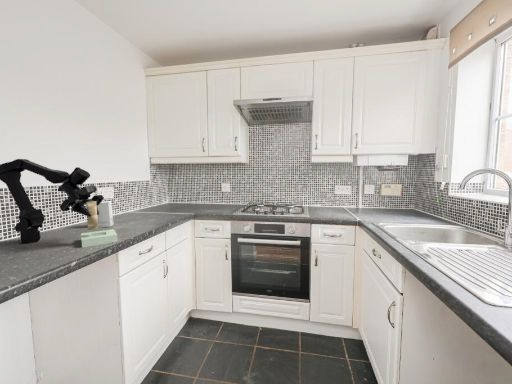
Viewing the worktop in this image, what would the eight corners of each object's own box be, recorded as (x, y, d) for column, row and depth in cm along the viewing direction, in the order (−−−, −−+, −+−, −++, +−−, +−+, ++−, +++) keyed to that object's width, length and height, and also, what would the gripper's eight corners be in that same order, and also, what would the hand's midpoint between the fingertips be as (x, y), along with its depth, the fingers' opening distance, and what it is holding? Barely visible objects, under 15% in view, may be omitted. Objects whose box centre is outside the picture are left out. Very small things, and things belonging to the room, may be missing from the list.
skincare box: (113, 224, 150) (112, 200, 149) (110, 227, 144) (108, 202, 143) (98, 225, 148) (97, 201, 147) (94, 228, 142) (93, 202, 140)
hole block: (82, 247, 106) (81, 239, 105) (81, 240, 117) (81, 233, 116) (117, 241, 114) (117, 234, 114) (114, 235, 125) (113, 229, 125)
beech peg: (88, 230, 109) (86, 202, 108) (87, 228, 112) (85, 201, 111) (98, 228, 111) (96, 201, 110) (97, 227, 114) (96, 201, 113)
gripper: (62, 180, 101) (85, 206, 100) (99, 179, 119) (119, 201, 118) (49, 198, 104) (71, 223, 102) (88, 194, 122) (107, 215, 121)
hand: (94, 215), depth 111 cm, fingers closed on beech peg, 4 cm apart
